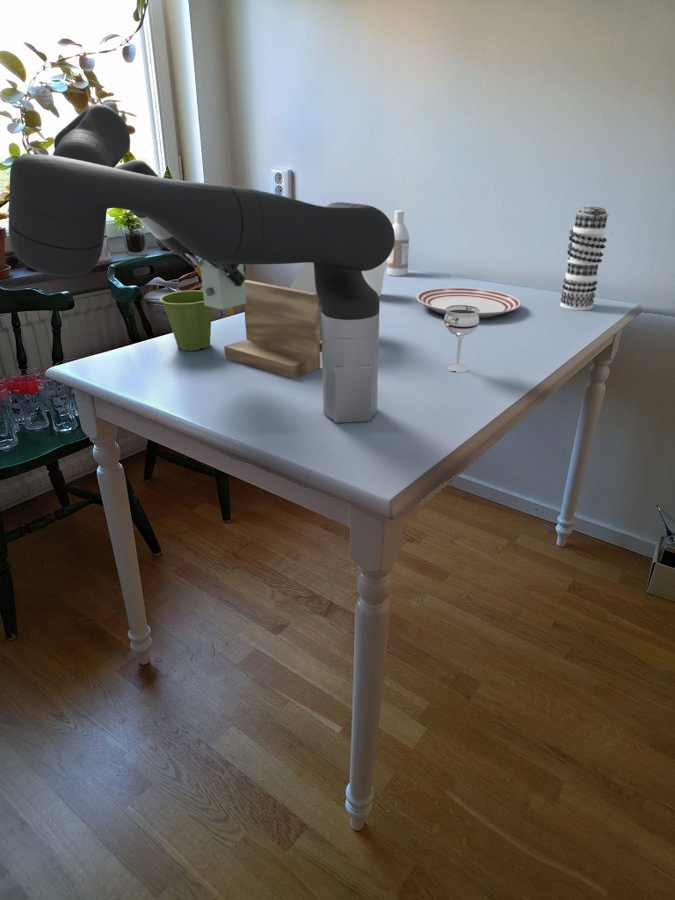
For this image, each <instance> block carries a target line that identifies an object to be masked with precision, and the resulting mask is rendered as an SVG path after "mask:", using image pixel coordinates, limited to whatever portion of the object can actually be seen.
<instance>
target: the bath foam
mask: <svg viewBox="0 0 675 900" xmlns="http://www.w3.org/2000/svg"><path fill="white" fill-rule="evenodd" d="M404 214H405V211H404V210H395V211H394V223H392V226H393V229H394V233H395V243H394V247H393V250H392V252H391V254H390V255H389V257H388V258H387V259H386V275H388V276H390V275H392V277H404V276H406V275H408V270H409V268H408V267H409V249H410V247H409V246H410V236H409V231H408V229H407V226H406V225H405V223H404Z"/></svg>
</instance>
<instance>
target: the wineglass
mask: <svg viewBox="0 0 675 900" xmlns="http://www.w3.org/2000/svg"><path fill="white" fill-rule="evenodd" d="M445 310H446V312H447V313H446V315H444V317H443V323H444V327H445V328H446V329H447V330H448V331H449V333H451V334H452V335H455V338H457V352H456V353H457V354H456V363H451V365H450V364H447V365H448V366H447V365H446V366H447V369H449V370H452V371H456V372H455V373H466V372H465V371H467V370H469V368H470V366H468V365H465V364H461V363H460V359H461V358H460V355H461V349H462V341H463V339H464V338H465V336H468V335H470V334H472V333H473V332H475V330H476V329H477V328H478V327H479V324H480V318H479V316H478V313H479V311H480V309H479V308H477V307H474V306H468V305H453V306H448V307H446V308H445ZM469 371H470V370H469ZM467 372H468V371H467Z"/></svg>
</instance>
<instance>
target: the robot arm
mask: <svg viewBox="0 0 675 900" xmlns="http://www.w3.org/2000/svg"><path fill="white" fill-rule="evenodd" d="M53 147H54V150H53V153H52V154H50V155H49V154H39V153H38V154H25V155H24V154H23V155H21V156H18V157H16V158H15V159H13V160H12V163H11V166H10V170H9V171H10V172H9V191H8V192H9V193H8V236H9V242H10V247H11V249H12V251H13V253H14V255H15V256H16V257H17V259H18V260H19V261H21V262H22V264H24V265H25V266H26V267H28V268H31V269H33V270H34V271H37V272H40V273H41V274H46V275H49V276H50V275H51V276H56V277H67V278H69V277H78V276H82V275H84V274H87V273H89V272H90V271H92V270H93V269H94V268H95V267H96V266H97V264H98V263H99V261H100V258H101V256H102V253H103V248H104V239H105V232H106V231H105V229H106V223H107V221H106V220H107V212H108V209H109V210H110V209H119V210H121V209H122V210H127V211H130V212H131V213H132V214H133V215H134V216H135V217H136V218H137V219H138V220H139V221H140V223H141V224H142V225H143V226H144V227H145V229H147V230H148V231H149V232H150V233H151V234H152V235H153V236H154V237H155V238H157V239H158V241H160V242H161V243H162V244H163V246H165V247H166V248H167V249H168V250H169V251H170V252H171V253H173V254H174V255H178V256H179V257H181V259H182V260H184V261H185V262H187V263H188V264H189V265H190V266H191V267H193V268H195V269H197V268H198V269H200V267H201V266H202V262H205V263H206V264H207V265H209V266H210V267H211V268H213V269H219V270H220V271H221V272H222V273H224V274H225V275H226V276H227V277H228V278H229V279H230V280H231V281H232V282H233V283H234V284H235V285H236V286H239V287H240V286H241V285H242V283H243V281H245V275H244V276H243V275H242V273H241V272H240V271H239V270H238V269H237V267H238V266H239V264H243V265H287V264H290V265H291V264H303V263H309V262H313V263H314V274H315V287H316V292H317V295H318V298H319V300H320V303H321V319H322V350H321V355H322V356H321V363H322V366H321V367H322V370H321V371H322V398H323V399H322V403H323V404H322V405H323V414H324V416H326V417H327V418H329V419H331V420H333V421H334V423H337V424H338V423H355V422H357V423H358V422H359V423H360V422H372V421H373V417H375V416H376V415H377V412H378V391H379V390H378V387H379V385H378V378H379V341H380V337H379V336H380V335H379V334H380V297H379V296H378V294H377V292H376V291H375V290H373V289H372V288H371V287H370V286H369V285H368V283H367V282H366V281H365V279H364V277H363V275H362V271H368V270H372V269H374V268H376V267H378V266H380V265H381V264H382V263H384V262H385V260H386V261H387V258H388V257H389V255H390V254H391V252H392V250H393V247H394V243H395V233H394V229H393V223H392V222H391V220H390V219H389V217H388V216H387V215H386V213H384V212H383V210H381V209H379V208H377V207H375V206H371V205H368V204H363V203H361V204H360V203H351V202H342V201H341V202H339V201H337V202H332V203H329V204H327V205H325V206H322V205H316V204H312V203H310V202H306V201H302V200H298V199H295V198H292V197H288V196H283V195H280V194H276V193H272V192H268V191H262V190H257V189H254V188H253V189H252V188H247V187H242V186H235V185H233V186H232V185H226V184H219V183H206V182H197V181H189V180H181V179H173V178H166V177H160V176H159V175H158V174H157V173H156V172H155V171H154V170H153V169H152V168H151V166H149V165H148V164H147V163H146V162H145V161H143V160H141V159H132V160H128V161H126V162H124V163H122V164H119V163H120V162H121V161H122V159H123V158H124V157H125V156H126V155H127V153H128V151H129V149H130V147H131V136H130V131H129V128H128V127H127V124H126V123H125V120H124V119H123V118H122V117H121V115H120V114H119V113H118V112H117V111H115V110H114V109H113V108H111V107H109V106H108V105H104V104H101V103H96V104H91V105H90V106H88V107H86V109H84V110H83V111H82V112H81V113H79V115H77V116H76V117H75V118H74V119H72V120H71V121H70V122H69V123H68V124H67V125H66V126H64V128H62V129H61V130H60V131H59V132H58V133H57V134H56V135H55V137H54V140H53ZM118 164H119V165H118ZM221 264H222V265H223V266H224V268H223V267H222V266H221Z"/></svg>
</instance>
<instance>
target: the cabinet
mask: <svg viewBox="0 0 675 900" xmlns="http://www.w3.org/2000/svg"><path fill="white" fill-rule="evenodd" d="M221 266H222V267H223V268H224V266H223V265H222V264H221ZM199 269H200V275H201V285H202V291H203V296H204V305H205V306H209V307H212V309H218V310H222V311H223V310H226V309H230V308H233V307H234V308H235V307H237V306H241V305H244V304H245V303H246V294H245V280H244V281H243V283H242V285H241V286H240V287H239V286H236V285H235V284H234V283H233V282H232V281H231V280H230V279H229V278H228V277H227V276H226V275H225V274H224V273H222V272H221V271H220V270H219V269H213V268H211V267H210V266H209V265H207V264H206V263H205V262H202V266H201V267H200V268H199ZM237 269H238V270H239V271H240V272H241V273H242V275H243V276H244V277H245V270H244V264H239V266H238V267H237Z"/></svg>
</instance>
